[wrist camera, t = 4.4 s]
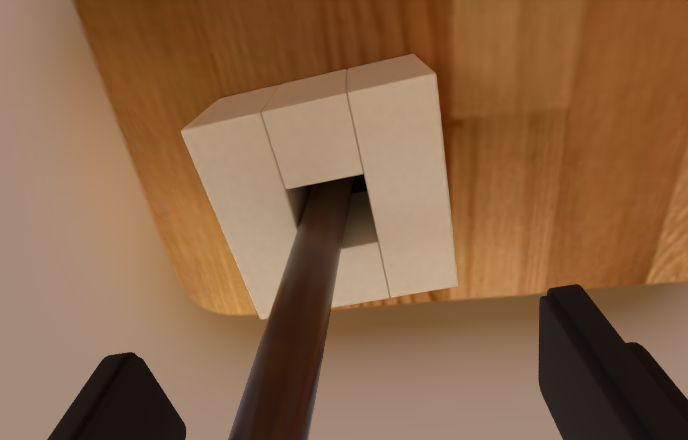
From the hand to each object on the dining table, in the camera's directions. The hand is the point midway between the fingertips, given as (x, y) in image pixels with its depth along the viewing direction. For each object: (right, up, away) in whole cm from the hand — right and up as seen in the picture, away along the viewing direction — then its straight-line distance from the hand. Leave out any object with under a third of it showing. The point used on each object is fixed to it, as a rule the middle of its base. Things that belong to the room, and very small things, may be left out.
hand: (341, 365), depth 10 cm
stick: (0, +6, +11) cm, 12 cm away
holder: (0, +6, +11) cm, 12 cm away
